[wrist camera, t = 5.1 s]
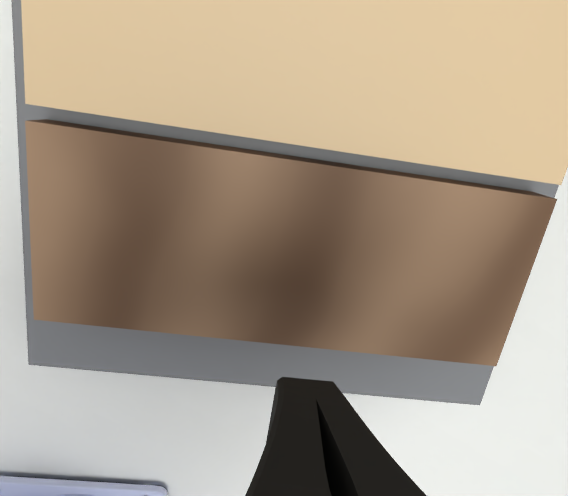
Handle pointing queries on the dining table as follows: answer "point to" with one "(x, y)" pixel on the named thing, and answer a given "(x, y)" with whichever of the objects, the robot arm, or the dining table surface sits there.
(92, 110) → the base board
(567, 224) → the dining table surface
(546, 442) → the dining table surface
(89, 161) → the walnut plank
